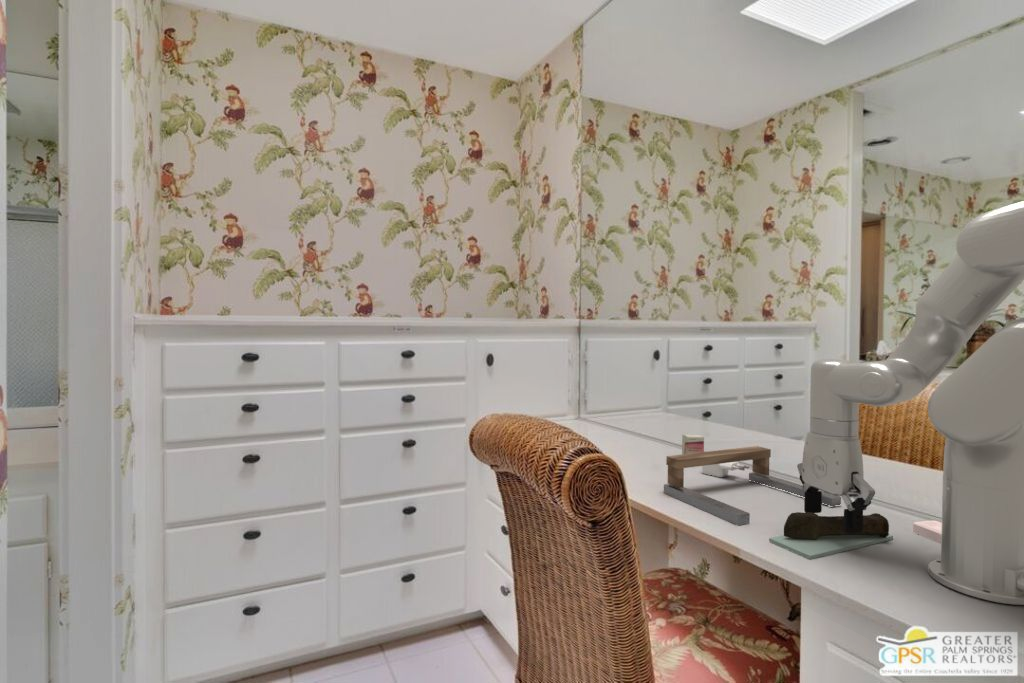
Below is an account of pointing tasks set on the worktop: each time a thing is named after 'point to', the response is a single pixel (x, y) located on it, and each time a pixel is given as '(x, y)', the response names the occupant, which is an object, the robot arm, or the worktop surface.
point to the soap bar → (929, 529)
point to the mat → (827, 544)
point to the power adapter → (722, 468)
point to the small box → (692, 443)
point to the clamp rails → (734, 513)
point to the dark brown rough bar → (831, 526)
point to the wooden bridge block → (716, 461)
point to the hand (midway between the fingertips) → (831, 521)
